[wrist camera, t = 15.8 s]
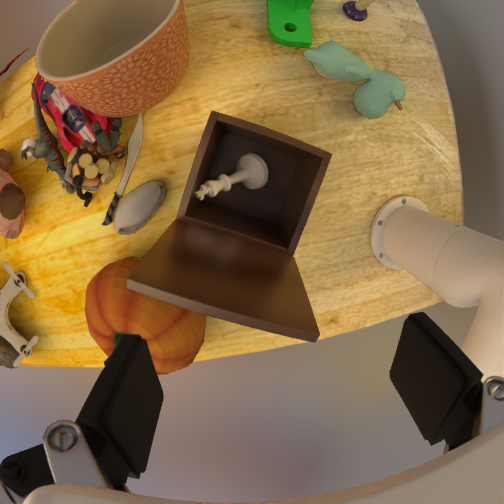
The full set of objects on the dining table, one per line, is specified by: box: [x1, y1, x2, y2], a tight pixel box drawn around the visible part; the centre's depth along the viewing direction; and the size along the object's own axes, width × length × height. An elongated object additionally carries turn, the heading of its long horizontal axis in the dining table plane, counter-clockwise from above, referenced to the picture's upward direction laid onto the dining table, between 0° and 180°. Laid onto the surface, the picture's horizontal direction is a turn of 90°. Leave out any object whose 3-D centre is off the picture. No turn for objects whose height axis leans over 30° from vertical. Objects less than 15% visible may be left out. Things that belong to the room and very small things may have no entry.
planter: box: [35, 0, 189, 118], centre depth 24 cm, size 17×17×15 cm
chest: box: [176, 111, 332, 256], centre depth 32 cm, size 12×13×12 cm
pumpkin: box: [85, 257, 206, 375], centre depth 36 cm, size 19×19×15 cm
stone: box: [114, 180, 166, 235], centre depth 36 cm, size 10×5×5 cm
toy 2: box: [64, 118, 125, 207], centre depth 32 cm, size 8×9×15 cm
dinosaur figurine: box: [21, 83, 74, 194], centre depth 31 cm, size 5×20×11 cm
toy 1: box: [0, 149, 25, 239], centre depth 32 cm, size 17×16×15 cm
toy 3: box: [303, 35, 405, 119], centre depth 31 cm, size 9×10×15 cm
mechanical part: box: [267, 0, 314, 48], centre depth 26 cm, size 12×6×8 cm, turn 1°
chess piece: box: [195, 153, 268, 200], centre depth 32 cm, size 5×5×10 cm
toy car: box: [31, 72, 114, 154], centre depth 30 cm, size 10×22×5 cm, turn 38°
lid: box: [127, 219, 320, 343], centre depth 22 cm, size 12×13×1 cm
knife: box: [102, 113, 143, 225], centre depth 36 cm, size 19×2×1 cm, turn 158°
